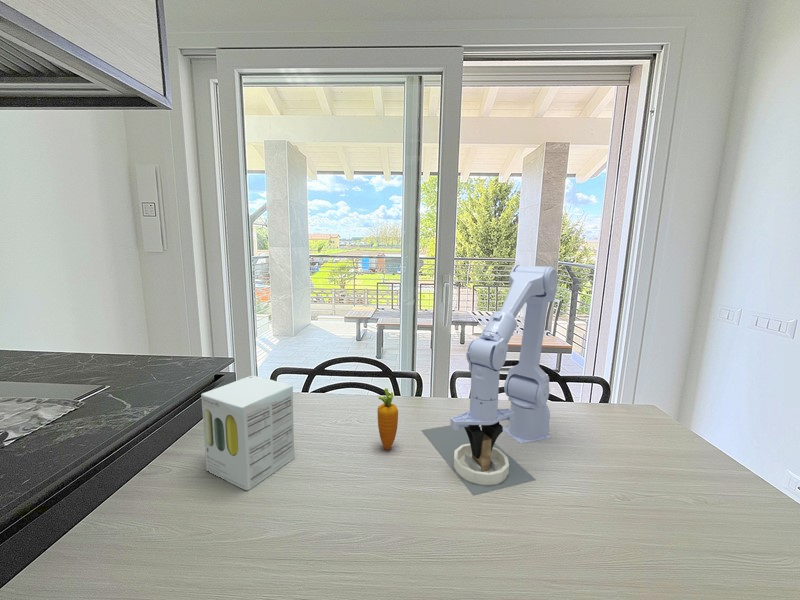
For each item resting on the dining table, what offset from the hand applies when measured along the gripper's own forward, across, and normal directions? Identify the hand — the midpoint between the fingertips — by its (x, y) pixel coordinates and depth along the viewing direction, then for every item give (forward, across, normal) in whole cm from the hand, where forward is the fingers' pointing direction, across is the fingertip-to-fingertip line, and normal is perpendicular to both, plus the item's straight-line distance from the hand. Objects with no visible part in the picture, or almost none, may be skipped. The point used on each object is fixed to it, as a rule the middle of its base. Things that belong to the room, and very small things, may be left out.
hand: (480, 454), depth 75 cm
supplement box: (+4, +47, -18) cm, 50 cm away
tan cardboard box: (+2, 0, 0) cm, 2 cm away
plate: (+3, 0, 0) cm, 3 cm away
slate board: (+4, -2, -6) cm, 7 cm away
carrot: (+4, +17, -14) cm, 22 cm away
